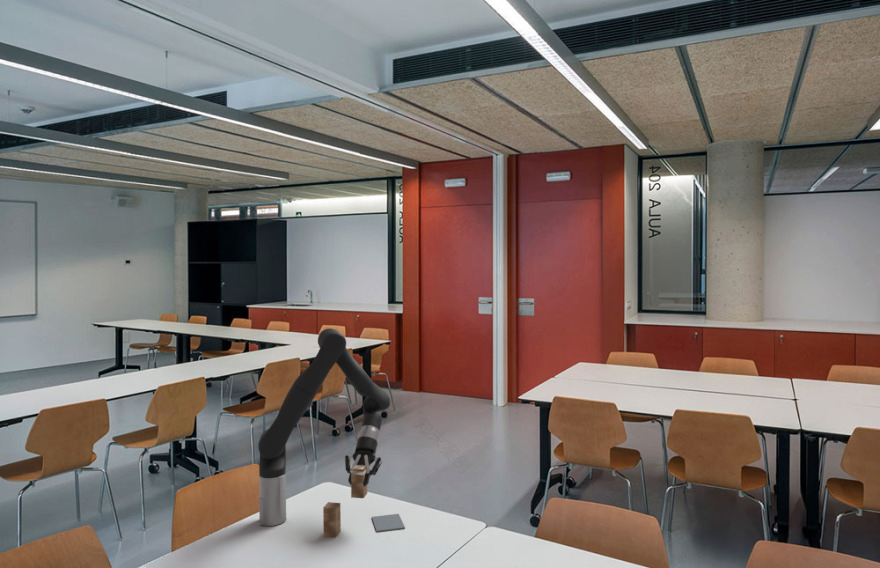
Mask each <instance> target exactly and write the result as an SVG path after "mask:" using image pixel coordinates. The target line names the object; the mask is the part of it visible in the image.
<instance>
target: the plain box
mask: <svg viewBox="0 0 880 568" xmlns="http://www.w3.org/2000/svg"><path fill="white" fill-rule="evenodd" d="M322 508H323V510H322V511H323V514H322V515H323V516H322V517H323V519H322V520H323V537H327V538H328V537H329V538H337V537H338V536H339V535H340V534H341V531H342V528H341V526H342V524H341V522H342V520H341V518H342V517H341V515H342V514H341V502H331V501H329V502H327V503H326V504H325V505H324V506H323V507H322Z"/></svg>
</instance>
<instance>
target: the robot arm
mask: <svg viewBox="0 0 880 568" xmlns="http://www.w3.org/2000/svg"><path fill="white" fill-rule="evenodd" d="M317 344H318V347H319V350H318V352H317V353H316V356H315V357H314V359H313V361H312V362H311V364H309V366H307V367H306V369H304V371H303V372H301V373H300V374H299V375H298V376H297V378H295V380H294V382H293V383H292V385H291V387H290V388H289V390H288V392H287V393H286V396H285V397H284V400H283V402H282V404H281V407H280V409H279V411H278V414H277V416H276V418H275V419H274V421H273V422H272V423H271V425H270V427H269V428H268V429H266V430H264V431H263V433H262V434H261V435H260V437H259V441H258V445H257V446H258V453H259V467H258V470H259V471H258V472H259V473H258V476H259V479H258V482H259V500H258V501H259V502H258V503H259V505H258V506H259V507H258V508H259V510H258V511H259V514H258V515H259V526H265V527H273V526H274V527H275V526H279V525H281V524H283V523H285V522H286V521H287V497H286V496H287V489H286V488H287V482H286V481H287V480H286V474H287V472H286V471H287V470H286V468H287V467H286V465H287V454H286V453H287V450H286V449H287V447H286V446H287V443H288V440H289V439H290V436H291V434H292V433H293V430H294V428H295V427H296V426H297V424H298V423H299V422H300V420H301V418H302V417H303V416H304V415H305V413H306V411H307V410H308V408H309V407H310V405H311V404H312V402H313V401H314V399H315V397H316V396H317V394H318V392H319V390H320V389H321V387H322V385H323V383H324V381H325V380H326V379H327V377H328V375H329V374H330V371H331V369H333V368H334V365H335V364H336V365H337V366H338V367H339V369H341V371H342V373H343V374H344V376H345V377H346V379H347V380H348V381H349V383H350V385H351V386H352V387H353V388H354V390H355V391H356V393H357V394H358V395H359V396H362V397H365V399H364V400H363V403H362V411H363V413H362V414H363V420H362V425H361V428H360V431H359V433H358V437H357V442H356V444H355V449H354V453H353V454H352V455H348V454H347V455H345V456H344V462H345V466H344V467H345V471H346V473H347V474H349V475H348V479H347V481H348V484H349V485H350V486H351V469H352V468H353V467H354V466H356V465H364V466H365V467H367V468H366V474H365V478H364V482H363V485H364V486H366V485H367V486H368V485H369V484H370V483H369V482H370V478H371V476H376V475H377V473H378V471H379V469H380V467H381V465H382V463H383V459H382V458H381V457H380V456H379V457H377V456H376V453H377V449H378V444H379V441H380V440H379V439H380V431H381V427H382V420H383V419H382V417H381V416H380V415H379V414H377V413H378V412H382V411H386V410H387V409H389V408H390V406H391V400H390V396H389V394H388V393H387V392H386V391H385V390H384V389H382V388H381V387H380V386H379V385H378V384H376V383H375V382H373V380H372V379H371V377H370V376H369V375H368V374H367V372H366V371H365V370H364V369H363V367H362V366H361V364H359V363H358V362H357V361H356V359H355V358H354V357H353V356H352V354H351V353H350V351H349V350H348V349H347V339H346V337H345V336H344V335H343V334H342V333H341V332H340V331H339V330H337V329H334V328H325V329H323V330H321V332H319V334H318V337H317ZM352 461H354V462H353V464H352V466H351V463H352ZM373 462H374V465H373V466H372V468H371V465H372V464H373Z"/></svg>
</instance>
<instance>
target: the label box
mask: <svg viewBox="0 0 880 568" xmlns="http://www.w3.org/2000/svg"><path fill="white" fill-rule="evenodd" d="M351 468H352V467H351ZM351 468H350V469H351ZM366 468H367V467H365V466H364V465H356V466H354V467H353V468H352V469H351V485H350V494H351V495H350V498H354V499H364V498H365V497H366V495H367V494H368V485H366V486H364V485H363V482H364V478H365V474H366Z"/></svg>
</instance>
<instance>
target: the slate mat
mask: <svg viewBox="0 0 880 568" xmlns="http://www.w3.org/2000/svg"><path fill="white" fill-rule="evenodd" d="M371 520H372V523H373V526H374V528H375V531H376V533H381V532H382V533H383V532H388V531H389V532H390V531H398V530H405V529H406V526H405V524H404V523H403V520H402V518H401V515H400V514H399V513H394V514H384V515H377V516H371Z"/></svg>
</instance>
